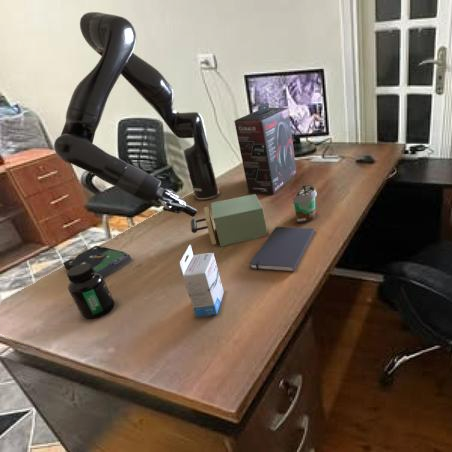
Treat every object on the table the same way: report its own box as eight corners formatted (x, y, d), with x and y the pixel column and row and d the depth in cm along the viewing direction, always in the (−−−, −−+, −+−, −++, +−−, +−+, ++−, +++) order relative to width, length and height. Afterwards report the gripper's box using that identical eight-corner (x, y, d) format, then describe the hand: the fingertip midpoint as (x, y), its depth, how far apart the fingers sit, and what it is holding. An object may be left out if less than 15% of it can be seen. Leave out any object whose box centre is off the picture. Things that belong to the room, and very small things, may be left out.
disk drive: (65, 271, 100) (100, 280, 95) (61, 263, 99) (96, 271, 94) (99, 252, 109) (132, 259, 103) (95, 244, 107) (129, 251, 102)
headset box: (274, 195, 140) (260, 109, 124) (246, 193, 144) (230, 110, 128) (297, 174, 160) (288, 98, 145) (273, 173, 164) (261, 98, 148)
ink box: (217, 315, 79) (201, 261, 72) (195, 318, 79) (177, 264, 72) (224, 292, 87) (211, 241, 80) (204, 294, 87) (189, 243, 80)
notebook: (293, 271, 92) (314, 232, 111) (293, 267, 92) (313, 228, 110) (249, 268, 95) (276, 230, 113) (248, 263, 94) (276, 226, 113)
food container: (314, 225, 115) (311, 197, 110) (296, 225, 116) (292, 197, 111) (322, 209, 125) (320, 183, 121) (305, 209, 127) (303, 183, 122)
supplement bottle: (107, 318, 81) (86, 276, 75) (76, 322, 81) (53, 280, 75) (120, 299, 87) (102, 259, 81) (92, 302, 87) (72, 262, 81)
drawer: (195, 248, 105) (189, 225, 101) (194, 232, 114) (188, 210, 111) (256, 234, 110) (252, 212, 107) (250, 219, 120) (246, 199, 116)
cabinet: (220, 246, 107) (213, 218, 102) (217, 228, 117) (210, 202, 113) (267, 235, 111) (262, 208, 107) (260, 219, 122) (255, 193, 117)
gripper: (143, 180, 91) (203, 212, 100) (147, 166, 102) (201, 196, 111) (127, 203, 92) (188, 232, 101) (133, 186, 103) (188, 214, 112)
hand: (195, 213), depth 106 cm, fingers closed
